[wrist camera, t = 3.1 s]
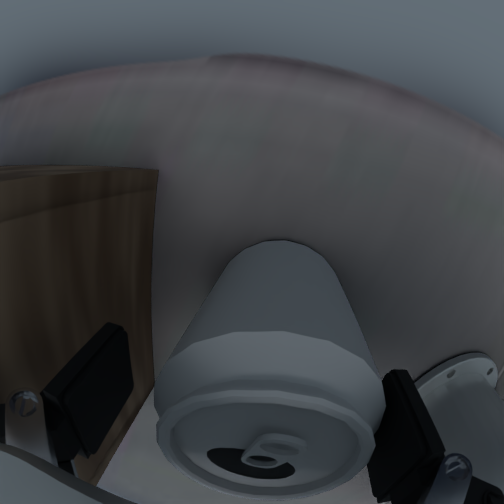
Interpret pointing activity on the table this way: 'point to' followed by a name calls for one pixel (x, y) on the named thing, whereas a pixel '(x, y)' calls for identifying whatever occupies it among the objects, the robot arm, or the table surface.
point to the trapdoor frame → (75, 278)
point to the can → (271, 381)
